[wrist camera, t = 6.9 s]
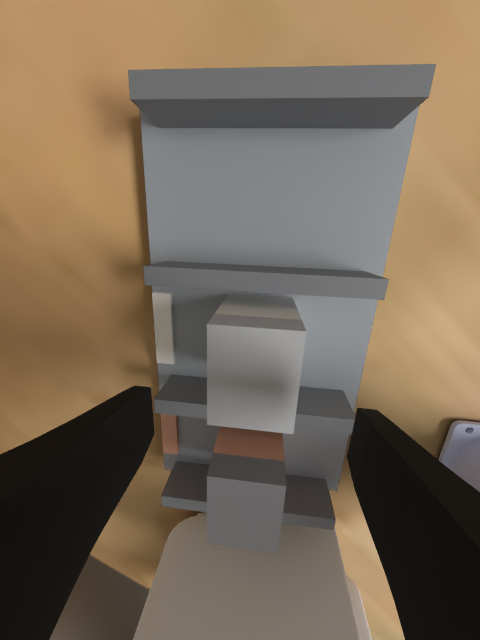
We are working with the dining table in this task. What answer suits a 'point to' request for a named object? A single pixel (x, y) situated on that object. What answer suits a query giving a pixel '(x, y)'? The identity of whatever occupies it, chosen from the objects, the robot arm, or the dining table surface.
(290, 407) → the grey rectangular block
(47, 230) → the dining table surface
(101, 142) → the dining table surface
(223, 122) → the grey tiered rack
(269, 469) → the brown and grey box
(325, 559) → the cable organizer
